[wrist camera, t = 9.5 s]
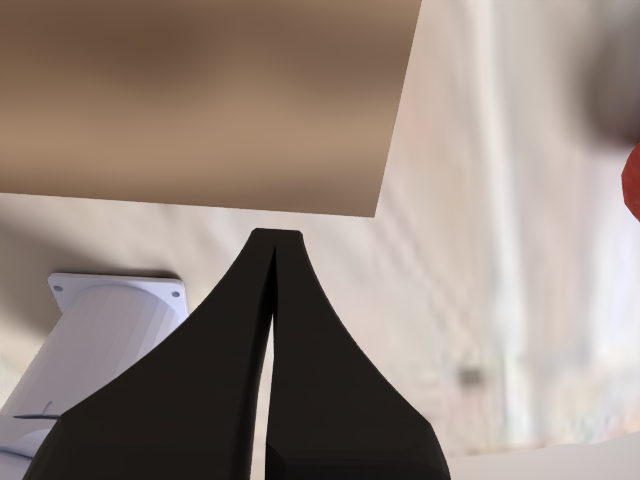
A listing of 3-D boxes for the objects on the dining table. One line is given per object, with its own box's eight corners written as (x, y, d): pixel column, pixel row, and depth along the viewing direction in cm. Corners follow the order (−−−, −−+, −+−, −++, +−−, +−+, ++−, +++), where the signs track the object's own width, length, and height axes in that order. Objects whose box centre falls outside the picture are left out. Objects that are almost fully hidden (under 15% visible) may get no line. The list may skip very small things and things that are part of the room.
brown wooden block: (363, 174, 20) (374, 217, 17) (-48, 142, 19) (-120, 184, 16) (422, -145, 13) (458, -170, 10) (-238, -240, 12) (-442, -305, 8)
